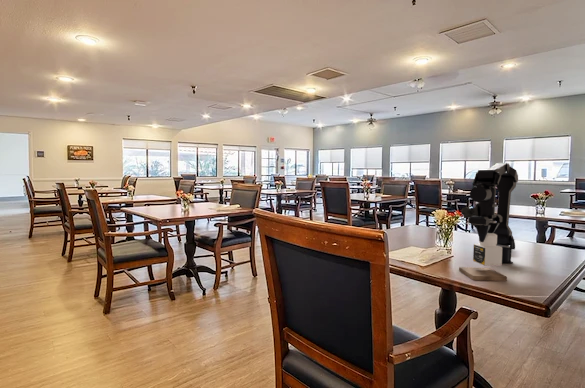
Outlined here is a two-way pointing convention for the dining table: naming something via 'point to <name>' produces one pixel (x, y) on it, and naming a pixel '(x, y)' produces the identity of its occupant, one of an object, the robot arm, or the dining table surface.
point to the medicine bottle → (488, 251)
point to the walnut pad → (482, 274)
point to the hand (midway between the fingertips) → (484, 241)
